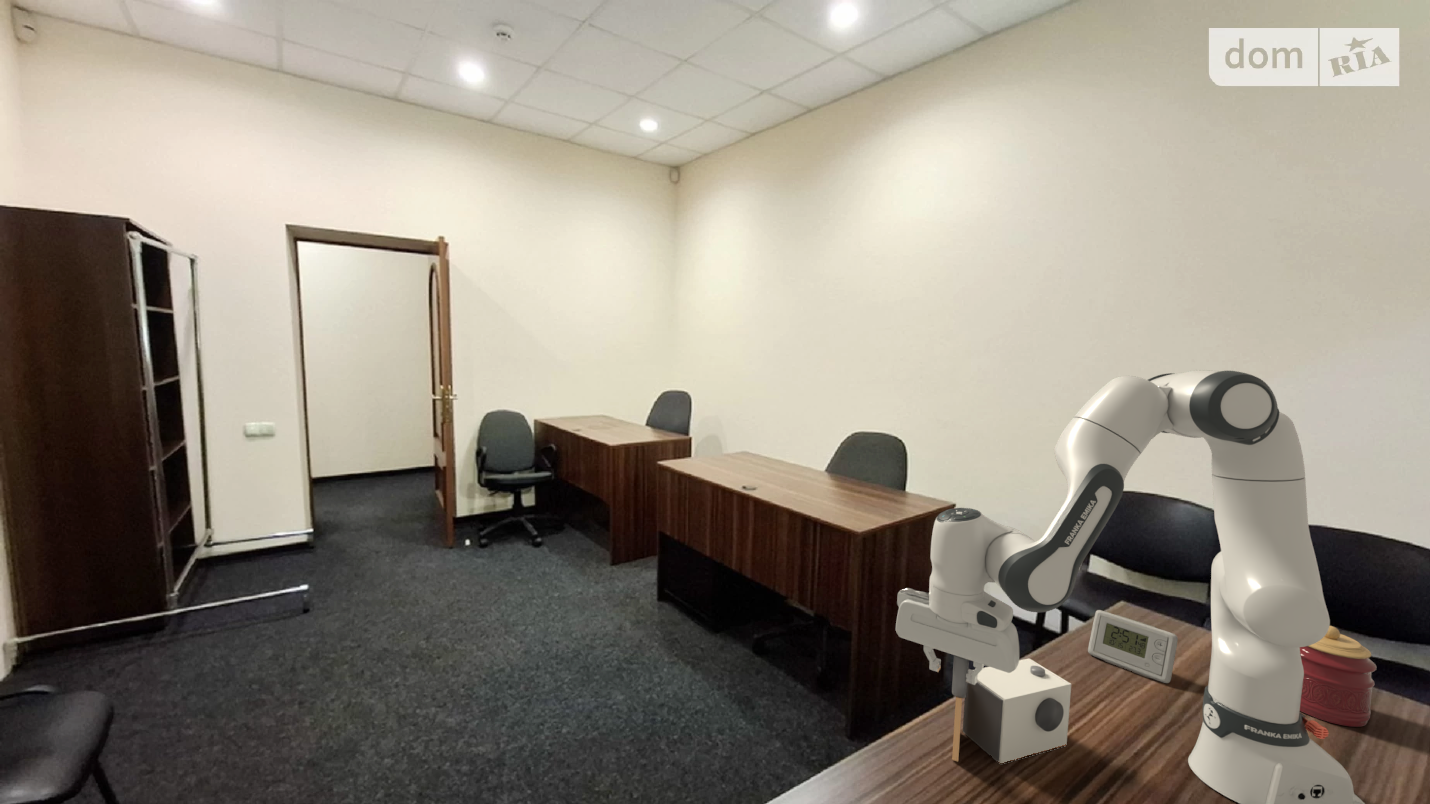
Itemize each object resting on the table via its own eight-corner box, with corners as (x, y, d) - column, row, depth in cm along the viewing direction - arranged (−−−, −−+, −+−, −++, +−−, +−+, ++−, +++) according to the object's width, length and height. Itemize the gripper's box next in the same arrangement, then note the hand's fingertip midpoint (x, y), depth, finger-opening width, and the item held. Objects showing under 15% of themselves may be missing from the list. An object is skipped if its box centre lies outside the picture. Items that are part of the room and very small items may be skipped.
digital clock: (1083, 653, 136) (1086, 611, 135) (1104, 645, 140) (1107, 604, 139) (1160, 690, 122) (1164, 643, 121) (1181, 680, 126) (1186, 634, 125)
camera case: (1025, 715, 112) (1029, 654, 111) (1071, 749, 102) (1076, 682, 101) (960, 731, 107) (964, 667, 105) (1003, 769, 97) (1008, 698, 96)
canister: (1354, 703, 118) (1364, 622, 117) (1381, 737, 107) (1393, 649, 106) (1269, 682, 125) (1278, 606, 124) (1287, 712, 114) (1296, 629, 113)
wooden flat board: (963, 732, 106) (969, 638, 104) (962, 762, 98) (968, 661, 96) (949, 728, 107) (955, 635, 105) (947, 758, 99) (953, 658, 97)
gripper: (891, 590, 103) (889, 662, 104) (1015, 625, 90) (1011, 707, 91) (904, 580, 107) (902, 649, 109) (1023, 611, 94) (1019, 689, 96)
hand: (952, 675), depth 100 cm, fingers open, 5 cm apart
